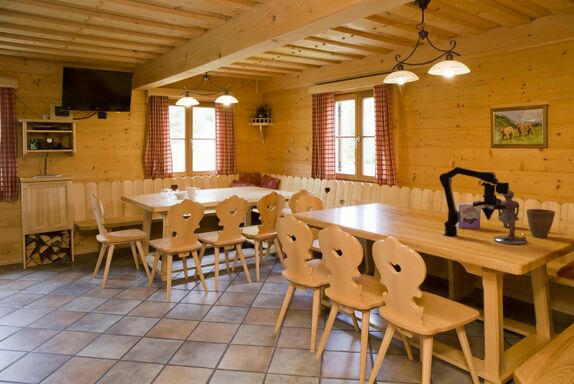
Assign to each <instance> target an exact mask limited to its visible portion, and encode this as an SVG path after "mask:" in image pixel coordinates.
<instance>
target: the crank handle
mask: <svg viewBox="0 0 574 384" xmlns="http://www.w3.org/2000/svg"><path fill="white" fill-rule="evenodd" d="M515 234H516V221H510V227H509V234H502V235H500V236H501V238H502V239H506V240H510V241H514V240H518V239H520V240H527V237H526V236H525V237H523V236H518V235H515Z"/></svg>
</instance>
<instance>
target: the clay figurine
mask: <svg viewBox="0 0 574 384" xmlns="http://www.w3.org/2000/svg"><path fill="white" fill-rule="evenodd" d="M502 195H503V197H504V199H505V200H502V201H501V204H505V205H506V209H503V210H498V211H497V212H498V218H497V219H498V221H499V222H502V224H503V227H504V228H507V227H508V228H510V221H515V222H516V221H519V220H520V218H519V217H518V216H519V212H520V204H519V202H518V201H515V200H513V197H514V195H515V193H514V191H512V190H509V194H502Z"/></svg>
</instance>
